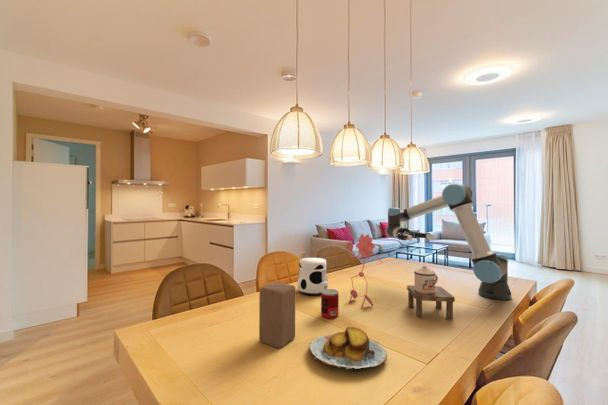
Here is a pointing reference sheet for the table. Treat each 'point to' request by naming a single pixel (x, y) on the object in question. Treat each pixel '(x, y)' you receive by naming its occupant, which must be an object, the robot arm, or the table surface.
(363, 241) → the figurine
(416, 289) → the teacup with lid
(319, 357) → the food on plate
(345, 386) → the table surface
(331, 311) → the canned food
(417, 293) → the walnut footstool
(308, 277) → the milk container
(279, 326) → the wooden block
